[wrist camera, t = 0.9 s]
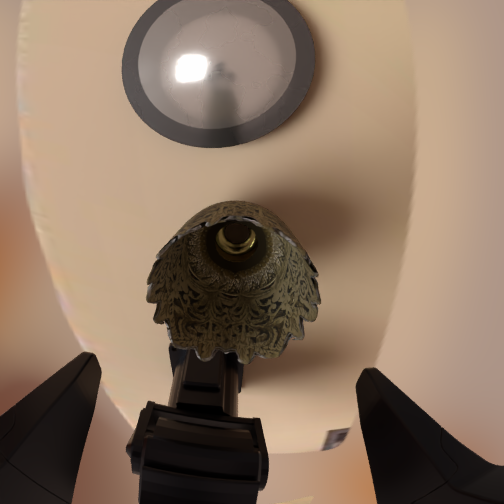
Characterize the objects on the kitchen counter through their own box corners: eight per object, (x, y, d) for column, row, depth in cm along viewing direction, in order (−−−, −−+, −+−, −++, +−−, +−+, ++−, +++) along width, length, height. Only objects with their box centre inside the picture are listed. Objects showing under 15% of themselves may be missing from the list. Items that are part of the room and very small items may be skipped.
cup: (305, 187, 17) (345, 239, 10) (280, 286, 21) (297, 371, 14) (186, 169, 17) (143, 210, 10) (178, 272, 20) (149, 354, 13)
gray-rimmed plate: (301, 153, 16) (305, 156, 15) (125, 145, 16) (116, 148, 15) (315, -5, 12) (320, -12, 10) (140, -8, 11) (134, -15, 10)
